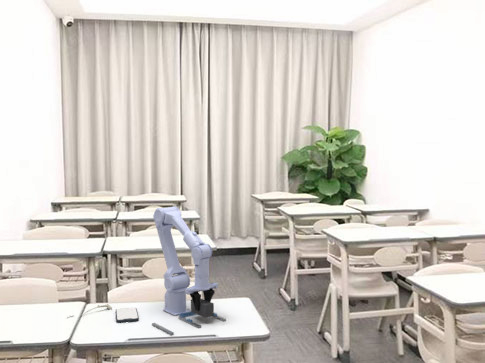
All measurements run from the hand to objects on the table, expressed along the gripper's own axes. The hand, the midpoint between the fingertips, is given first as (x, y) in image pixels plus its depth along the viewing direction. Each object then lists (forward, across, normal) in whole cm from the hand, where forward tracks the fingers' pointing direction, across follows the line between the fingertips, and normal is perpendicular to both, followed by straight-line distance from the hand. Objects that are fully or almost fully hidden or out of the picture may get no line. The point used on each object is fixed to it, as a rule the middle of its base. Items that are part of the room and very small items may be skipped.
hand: (202, 309), depth 197 cm
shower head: (+5, -31, +36) cm, 48 cm away
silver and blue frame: (+4, -6, 0) cm, 7 cm away
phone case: (+5, -21, +23) cm, 32 cm away
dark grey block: (+2, 0, 0) cm, 2 cm away
